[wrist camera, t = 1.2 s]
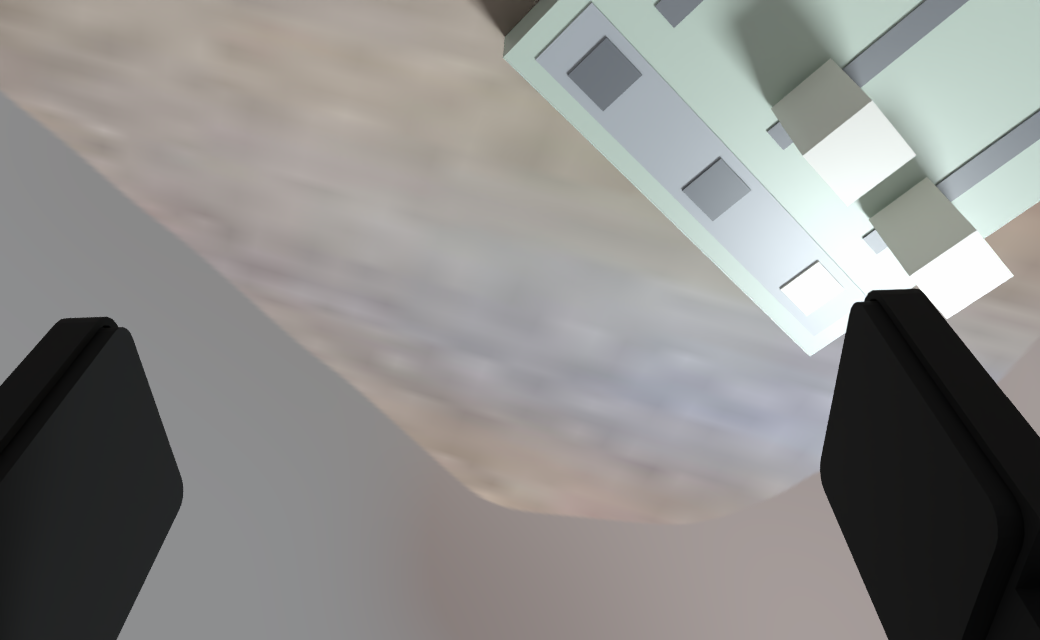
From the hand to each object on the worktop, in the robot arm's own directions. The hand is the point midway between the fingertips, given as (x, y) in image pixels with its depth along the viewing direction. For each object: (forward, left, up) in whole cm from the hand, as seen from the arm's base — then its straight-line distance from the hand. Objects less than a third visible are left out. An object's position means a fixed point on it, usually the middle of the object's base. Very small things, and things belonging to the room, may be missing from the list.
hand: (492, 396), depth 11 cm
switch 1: (-5, +13, -26) cm, 29 cm away
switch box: (-6, +13, -29) cm, 33 cm away
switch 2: (-5, +21, -26) cm, 33 cm away
